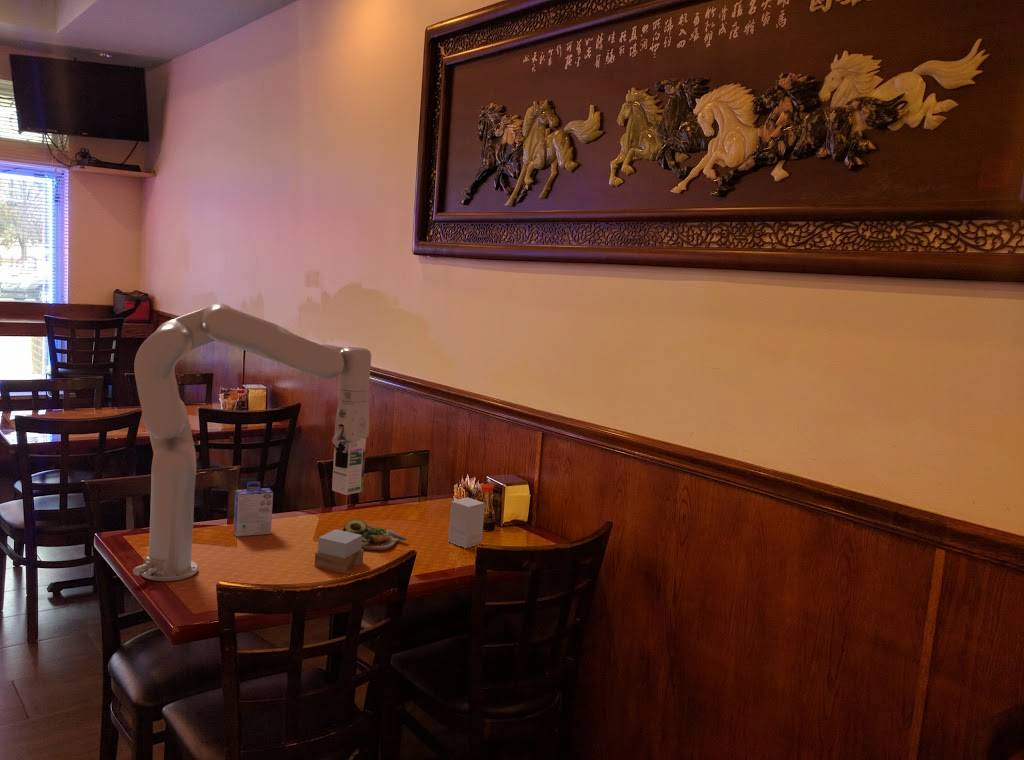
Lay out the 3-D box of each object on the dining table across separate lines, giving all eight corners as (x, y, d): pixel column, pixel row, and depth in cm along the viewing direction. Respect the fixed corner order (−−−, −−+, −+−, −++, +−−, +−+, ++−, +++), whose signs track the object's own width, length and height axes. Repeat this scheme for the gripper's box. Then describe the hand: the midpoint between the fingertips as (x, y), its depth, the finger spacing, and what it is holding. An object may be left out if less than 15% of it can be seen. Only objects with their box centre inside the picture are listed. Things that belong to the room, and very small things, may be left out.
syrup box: (346, 495, 200) (350, 439, 198) (330, 490, 203) (334, 435, 201) (363, 492, 204) (367, 437, 203) (347, 487, 208) (351, 433, 206)
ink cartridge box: (267, 528, 228) (270, 479, 226) (272, 534, 223) (275, 484, 221) (231, 530, 223) (234, 481, 221) (235, 537, 218) (238, 486, 216)
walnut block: (345, 575, 200) (346, 559, 200) (314, 567, 203) (315, 552, 202) (362, 564, 209) (363, 549, 208) (332, 557, 211) (333, 542, 211)
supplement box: (482, 544, 232) (486, 502, 231) (465, 549, 226) (469, 506, 225) (464, 537, 237) (467, 496, 235) (446, 542, 231) (450, 500, 229)
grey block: (344, 558, 200) (345, 543, 200) (317, 552, 203) (318, 537, 202) (360, 549, 208) (362, 535, 207) (334, 543, 210) (335, 529, 210)
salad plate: (412, 536, 234) (413, 521, 234) (397, 556, 217) (399, 540, 216) (348, 528, 236) (349, 513, 235) (329, 547, 218) (330, 531, 218)
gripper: (348, 402, 191) (343, 473, 194) (383, 394, 208) (378, 460, 210) (321, 398, 194) (317, 468, 196) (357, 390, 210) (353, 456, 212)
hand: (349, 463), depth 203 cm, fingers closed on syrup box, 6 cm apart
